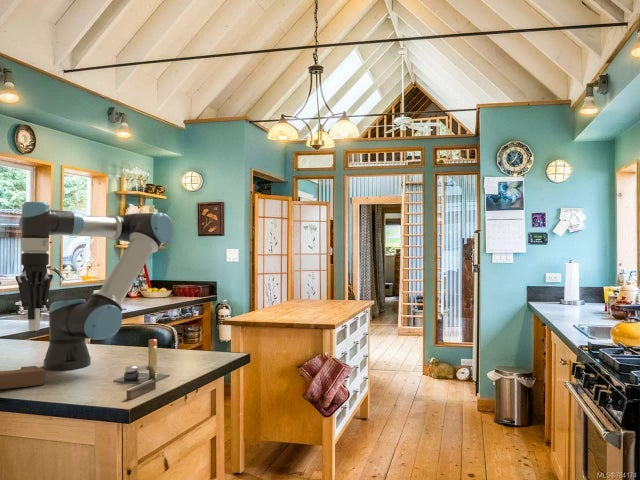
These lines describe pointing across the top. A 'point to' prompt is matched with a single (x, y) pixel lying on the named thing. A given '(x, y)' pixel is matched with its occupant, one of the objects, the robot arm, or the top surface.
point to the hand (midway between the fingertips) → (34, 329)
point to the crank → (141, 368)
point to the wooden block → (22, 377)
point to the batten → (141, 389)
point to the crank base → (144, 377)
